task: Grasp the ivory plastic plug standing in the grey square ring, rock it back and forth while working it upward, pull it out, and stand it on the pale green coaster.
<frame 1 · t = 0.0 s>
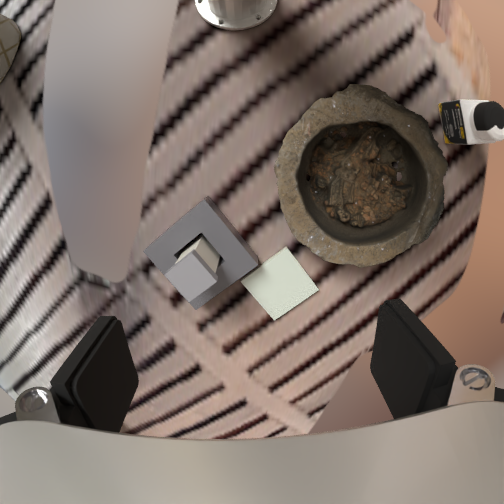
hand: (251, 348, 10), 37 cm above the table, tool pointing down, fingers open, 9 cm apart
stone bowl: (351, 177, 45), on the table
plug: (197, 262, 43), in the grey square ring
medicine bottle: (454, 122, 42), on the table
grey square ring: (203, 249, 48), on the table
coaster: (280, 283, 50), on the table
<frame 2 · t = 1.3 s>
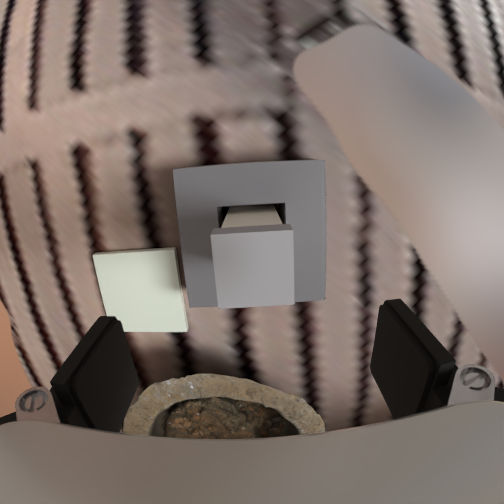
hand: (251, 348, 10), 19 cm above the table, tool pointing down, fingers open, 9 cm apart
stone bowl: (226, 416, 37), on the table
plug: (253, 243, 24), in the grey square ring
grey square ring: (252, 226, 29), on the table
coaster: (141, 291, 31), on the table
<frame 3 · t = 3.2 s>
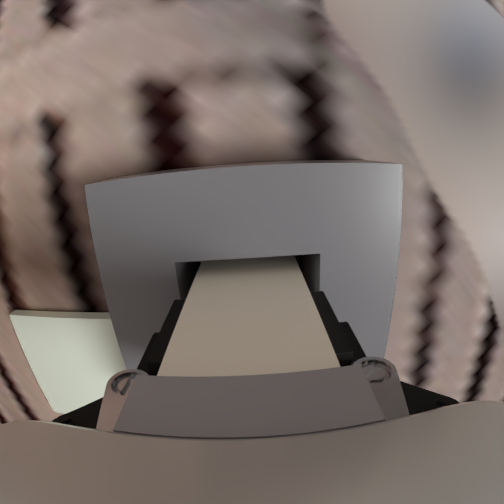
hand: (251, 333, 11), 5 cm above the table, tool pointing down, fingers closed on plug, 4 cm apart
plug: (251, 347, 11), in the grey square ring, touching gripper
grey square ring: (250, 282, 16), on the table
coaster: (81, 368, 18), on the table
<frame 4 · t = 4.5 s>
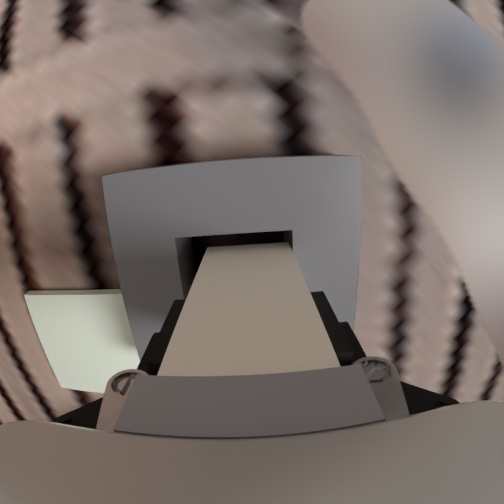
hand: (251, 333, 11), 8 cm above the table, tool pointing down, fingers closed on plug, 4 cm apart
plug: (251, 347, 11), point 9 cm above the table, touching gripper
grey square ring: (239, 260, 19), on the table
coaster: (89, 343, 21), on the table
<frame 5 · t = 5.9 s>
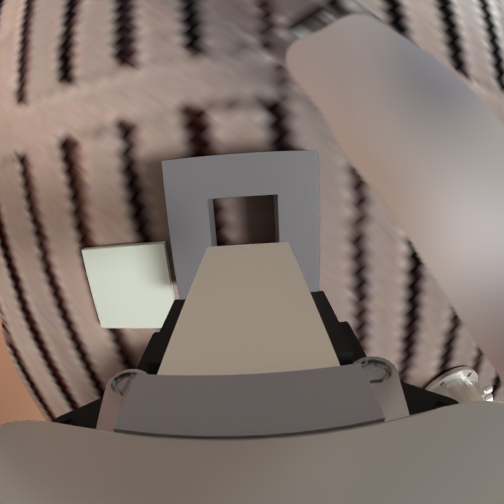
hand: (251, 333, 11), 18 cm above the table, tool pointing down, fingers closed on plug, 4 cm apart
plug: (251, 347, 11), point 19 cm above the table, touching gripper
grey square ring: (244, 219, 28), on the table
coaster: (131, 286, 30), on the table
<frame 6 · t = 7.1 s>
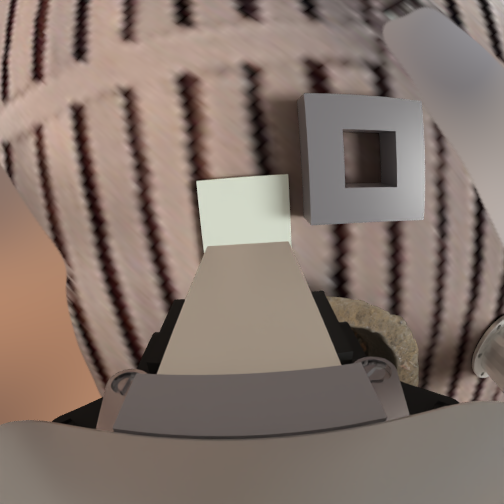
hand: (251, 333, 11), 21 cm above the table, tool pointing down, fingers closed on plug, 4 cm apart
stone bowl: (311, 362, 38), on the table
plug: (251, 346, 10), point 22 cm above the table, touching gripper
grey square ring: (357, 157, 30), on the table
coaster: (245, 220, 32), on the table
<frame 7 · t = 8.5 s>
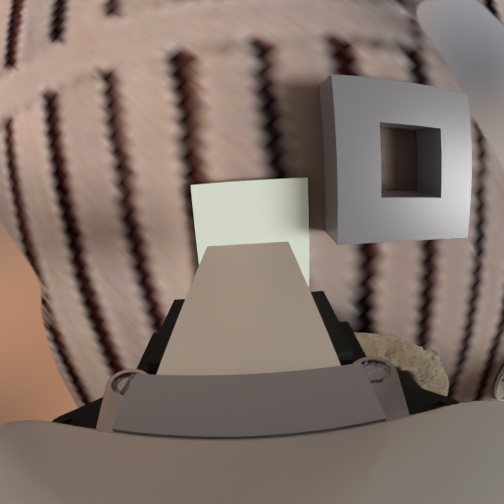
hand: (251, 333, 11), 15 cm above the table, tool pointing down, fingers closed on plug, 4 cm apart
stone bowl: (325, 397, 31), on the table
plug: (251, 347, 10), point 16 cm above the table, touching gripper
grey square ring: (390, 159, 24), on the table
coaster: (252, 235, 25), on the table
when the fingers open (7 cm above the table, at t = 10.2 s): plug drops 1 cm, resting on coaster.
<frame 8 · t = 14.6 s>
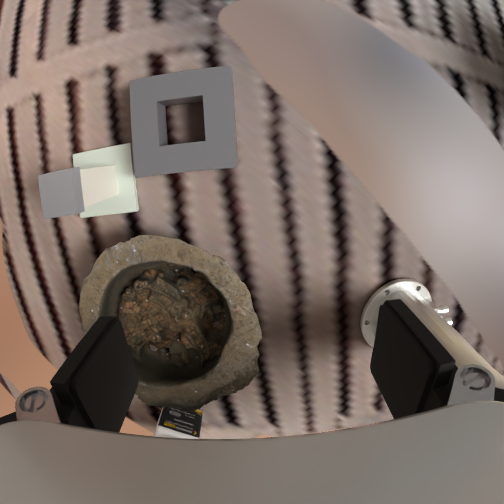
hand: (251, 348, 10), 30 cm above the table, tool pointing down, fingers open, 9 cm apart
stone bowl: (172, 307, 44), on the table
plug: (83, 186, 32), on the coaster, point 7 cm above the table
medicine bottle: (180, 414, 51), on the table
grey square ring: (187, 123, 36), on the table
coaster: (105, 181, 38), on the table
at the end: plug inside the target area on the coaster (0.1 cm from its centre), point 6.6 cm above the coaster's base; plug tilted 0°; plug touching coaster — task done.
